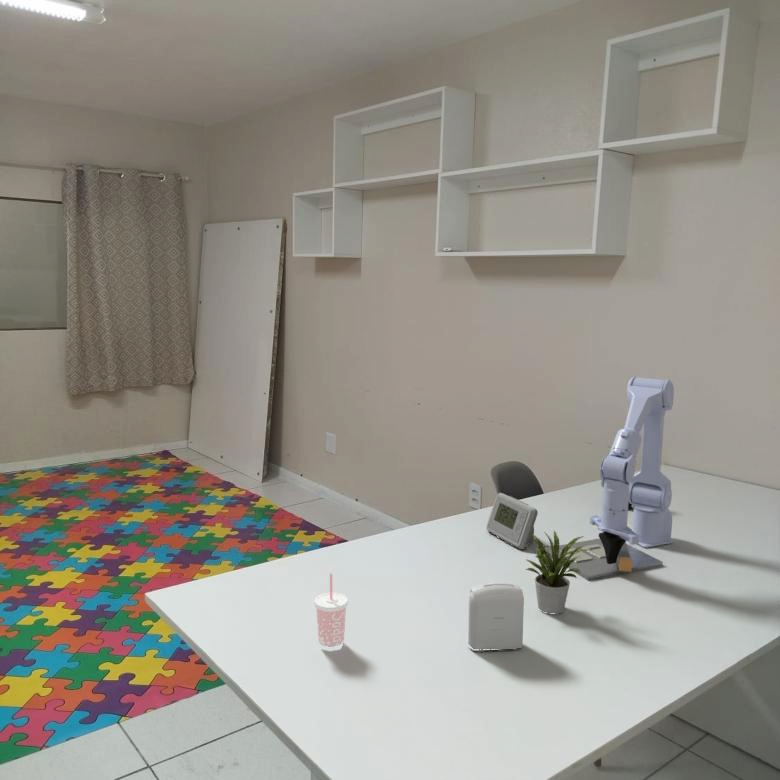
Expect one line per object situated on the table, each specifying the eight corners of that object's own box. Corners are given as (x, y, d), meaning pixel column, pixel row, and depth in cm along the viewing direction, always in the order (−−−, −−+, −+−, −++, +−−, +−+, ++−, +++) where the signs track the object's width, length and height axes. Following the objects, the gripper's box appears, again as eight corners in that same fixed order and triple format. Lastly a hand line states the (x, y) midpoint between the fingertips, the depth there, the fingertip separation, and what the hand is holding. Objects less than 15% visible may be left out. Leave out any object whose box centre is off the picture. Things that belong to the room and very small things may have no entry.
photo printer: (470, 653, 130) (472, 590, 128) (465, 642, 134) (467, 580, 132) (525, 651, 131) (528, 588, 129) (518, 639, 135) (521, 578, 133)
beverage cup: (318, 655, 129) (317, 582, 126) (312, 639, 134) (311, 569, 132) (351, 651, 130) (351, 579, 128) (343, 635, 136) (343, 565, 134)
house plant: (600, 604, 150) (605, 530, 147) (582, 632, 138) (587, 552, 135) (535, 588, 157) (538, 518, 154) (512, 614, 145) (515, 537, 143)
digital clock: (483, 530, 193) (485, 492, 191) (514, 527, 195) (515, 490, 194) (509, 553, 177) (510, 512, 176) (542, 549, 180) (543, 509, 178)
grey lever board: (611, 540, 186) (612, 521, 186) (662, 565, 170) (663, 545, 169) (541, 552, 178) (542, 533, 177) (588, 580, 162) (589, 559, 161)
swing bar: (613, 547, 177) (614, 537, 176) (624, 548, 176) (625, 538, 176) (619, 570, 163) (620, 559, 163) (631, 571, 162) (631, 561, 162)
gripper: (580, 500, 169) (577, 554, 171) (622, 519, 156) (619, 578, 158) (604, 496, 171) (601, 550, 174) (648, 515, 158) (644, 573, 160)
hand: (611, 563), depth 166 cm, fingers closed
